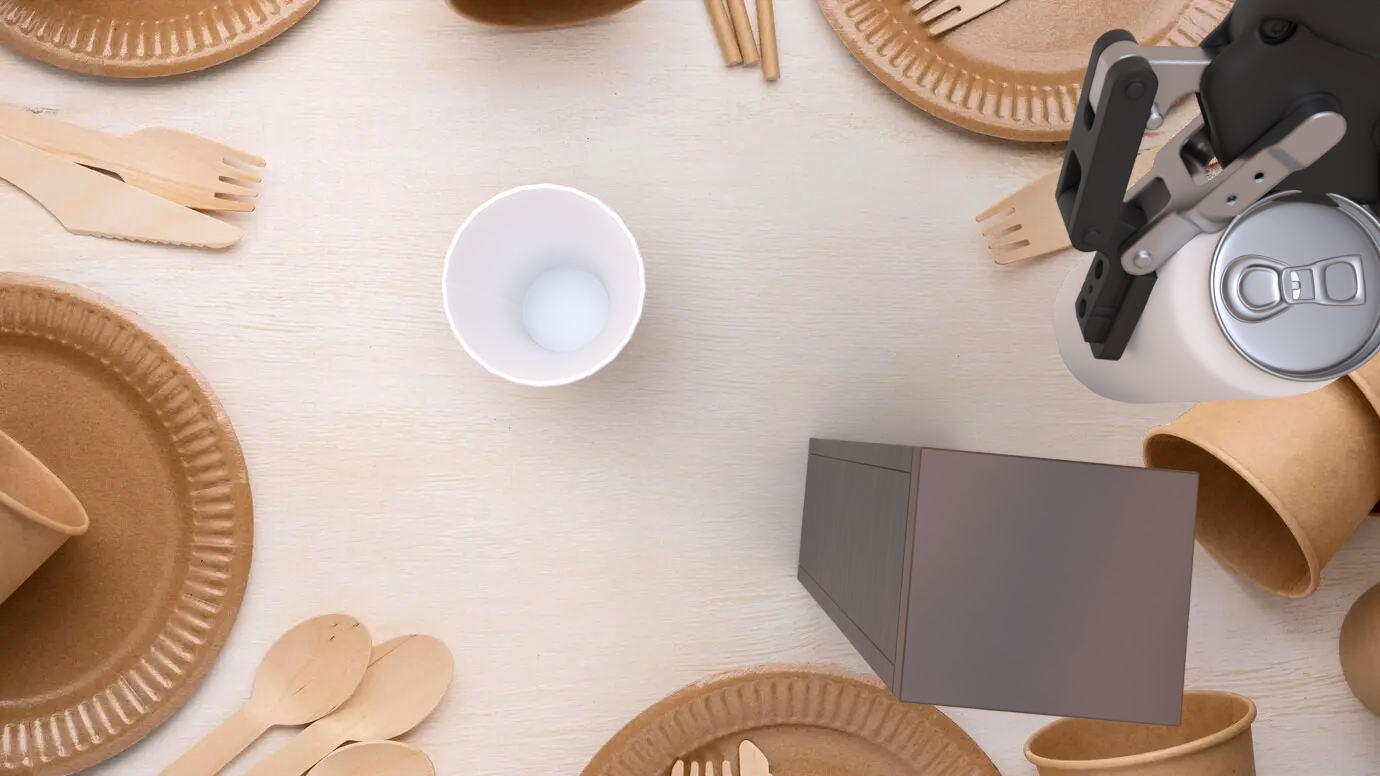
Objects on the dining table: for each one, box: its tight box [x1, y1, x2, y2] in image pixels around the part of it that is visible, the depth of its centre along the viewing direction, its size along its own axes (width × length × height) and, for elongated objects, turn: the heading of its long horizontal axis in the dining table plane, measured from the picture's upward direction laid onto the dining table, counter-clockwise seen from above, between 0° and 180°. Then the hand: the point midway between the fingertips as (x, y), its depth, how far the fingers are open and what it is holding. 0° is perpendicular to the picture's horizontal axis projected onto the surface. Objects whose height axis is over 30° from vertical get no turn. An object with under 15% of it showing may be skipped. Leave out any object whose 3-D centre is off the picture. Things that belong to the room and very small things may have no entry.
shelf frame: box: [797, 437, 916, 694], centre depth 53 cm, size 10×9×29 cm
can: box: [1052, 190, 1380, 405], centre depth 36 cm, size 6×6×12 cm
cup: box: [440, 182, 648, 388], centre depth 60 cm, size 10×10×14 cm
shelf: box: [892, 445, 1200, 728], centre depth 38 cm, size 10×9×1 cm
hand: (1203, 353), depth 36 cm, fingers closed on can, 6 cm apart
